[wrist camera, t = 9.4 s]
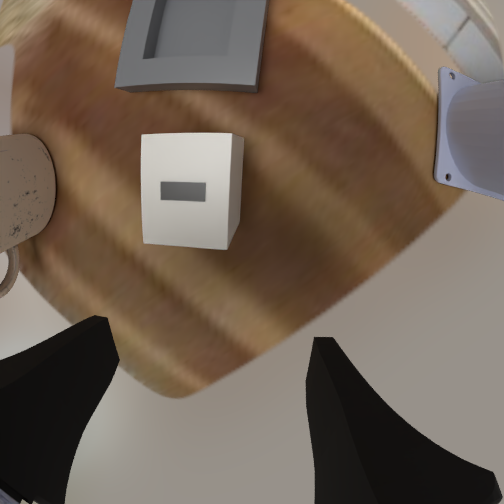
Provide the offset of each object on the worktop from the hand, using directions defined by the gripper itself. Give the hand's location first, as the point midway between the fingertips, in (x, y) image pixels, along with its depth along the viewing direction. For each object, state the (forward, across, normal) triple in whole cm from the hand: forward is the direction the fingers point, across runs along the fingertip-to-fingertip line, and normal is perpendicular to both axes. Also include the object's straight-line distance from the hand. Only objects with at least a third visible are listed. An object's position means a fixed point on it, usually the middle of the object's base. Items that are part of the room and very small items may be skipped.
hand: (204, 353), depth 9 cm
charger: (+10, +2, -5) cm, 11 cm away
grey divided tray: (+10, +2, -18) cm, 20 cm away
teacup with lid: (+10, +18, -4) cm, 21 cm away
